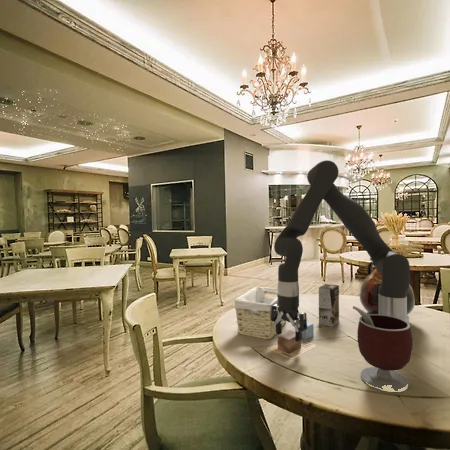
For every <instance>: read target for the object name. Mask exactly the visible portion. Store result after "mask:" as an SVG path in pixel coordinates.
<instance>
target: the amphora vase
mask: <svg viewBox="0 0 450 450" xmlns="http://www.w3.org/2000/svg"><path fill="white" fill-rule="evenodd" d="M369 260H370V262H368V265H367V277H366V278H364V280H363V282H362V283H361V286H360V289H359V300H360V303H361V305H362V306H363V308H364V310H365V311H366V313H367V314H379V286H381V285H382V273H381V272H380V271H379V270H378V269H377V267H376V265H375V264H374V262H373V261H372V259H371V257H369ZM373 266H374V269H372V268H373ZM415 301H416V299H415V293H414V290H413V287H412V286H411V284H410V283H409V289H408V291H407V316H409V314H411V312H412V311H413V310H414V308H415V303H416V302H415Z"/></svg>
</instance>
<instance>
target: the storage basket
mask: <svg viewBox="0 0 450 450" xmlns="http://www.w3.org/2000/svg"><path fill="white" fill-rule="evenodd" d="M265 294H268V295H269V294H270V295H275V296H276V298H271V297H265ZM276 304H277V305H278V288H277V287H266V286H255V287H252V289H249V290H248V291H246V292H245V293H243V294H242V295H239V296H238V297H237V298H235V299H234V308H235V314H236V315H235V316H236V324H237V328H238V329H237V330H238V334H240V335H242V336H248V337H254V338H259V339H265V340H272V338H273V337H275V335H277V334H276V324H275V322H274V321H271V307H272V306H273V305H276ZM279 314H280V313H279V311H278V316H279ZM274 316H275V315H274ZM286 322H287V321H284V320H283V321H282V322H281V324H282V327H283V326H284V325H285V323H286Z"/></svg>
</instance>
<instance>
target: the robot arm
mask: <svg viewBox="0 0 450 450" xmlns="http://www.w3.org/2000/svg"><path fill="white" fill-rule="evenodd" d="M306 176H307V182H308V184H309V186H310V187H309V189H308V190H307V192H306V194H305V195H304V197H303V198H302V199H301V201H299V202H300V203H299V204H298V205H297V207H296V209H294V211H293V214H292V215H291V217H290V220H289V221H288V223H287V225H286V226H285V227H284V228H283V230H282V231H281V232H280V233H279V234H278V236H277V238H276V239H275V240H274V241H275V242H274V245H273V249H274V252H275V253H276V255H278V256H280V257H285V259H284V260H285V261H284V262H283V263H280V264H279V265H278V270H277V275H278V276H277V277H278V278H277V280H278V281H277V289H278V305H277V304H276V305H273V306H272V307H271V321H274V322H275V324H276V334H275V335H279V334H282V333H283V331H282V329H283V326H282V324H281V322H282V321H283V320H284V321H286V322H287V323H290V324H291V326H292V327H294V332H295V341H296V342H299V341H301V340H302V339H303V338H302V331H305V330H307V322H308V321H307V319H308V318H307V313H306V312H300V311H299V308H300V307H299V306H300V285H299V268H300V265H301V261H302V257H303V252H304V249H303V248H304V247H303V244H302V242H301V240H300V239H299V238H298V237H302V236H305V235H306V234H307V232H308V229H309V228H310V226H311V224H312V221H313V219H314V217H315V215H316V213H317V211H318V209H319V207H320V206H321V203H322V201H323V200H324V201H325V202H326V203H327V205H328V206H329V207H330V209H331V210H332V211H333V213H334V214H335V215H336V216H337V218H338V219H339V220H340V222H341V223H342V224H343V226H344V227H345V228H346V230H347V231H348V232H349V233H350V234H351V235H352V236H353V238H354V239H355V240H356V241H357V242H358V243H359V245H361V247H363V249H364V250H365V252H367V254H368V256H369V258H371V259H372V261H373V262H374V264H375V265H376V267H377V269H378V270H379V271H380V272H381V273H382V285H381V286H379V314H381V315H389V316H393V317H397V318H400V319H403V320H405V321H407V322H408V323H409V324H410V317H409V315H407V291H408V289H409V284H410V280H411V279H410V278H411V266H410V261H409V260H408V258H407V257H406V256H405V255H403V254H401V253H398V252H395V251H394V250H393V249H391V247H389V245H388V244H387V243H386V242H385V241H384V239H383V238H382V237H381V235H380V234H379V232H378V228H377V226H376V223H375V222H374V220H373V218H372V217H371V216H370V215H369V213H368V212H367V210H366V209H365V208H364V207H363V205H361V204H360V203H359V202H357V201H356V200H354V199H352V198H351V197H349V196H347V195H345V194H344V193H343V192H342V191H341V190H340V189H339V188H338V186H336V185H335V182H336V180H337V179H338V176H339V168H338V166H337V164H336V163H335V162H334V161H332V160H330V159H326V160H322V161H319V162H318V163H317V164H315V165H314V166H312V168H311V169H309V171H308V172H307V175H306ZM372 261H371V262H372ZM278 311H279V313H280V314H279V316H278ZM274 315H275V316H274ZM295 330H296V331H295Z"/></svg>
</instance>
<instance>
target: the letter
mask: <svg viewBox="0 0 450 450" xmlns="http://www.w3.org/2000/svg"><path fill="white" fill-rule="evenodd" d="M316 347H317V345H316V344H314V343H310V342H309V341H306V340H301V348H300V349H298V350H296V351H294V352H292V353H290V354H288V353H286V352H283V351H281V350H279V349H278V343H276V344H274V345H271V346H269V347H267V348H266V349H267V350H269V351H271V352H273V353H276V354H278V355H281V356H282V357H285V358H287V359H290V360H293V359H295V358H297V357H299V356H301V355H303V354H305V353H307V352H308V351H310V350H312V349H314V348H316Z"/></svg>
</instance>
